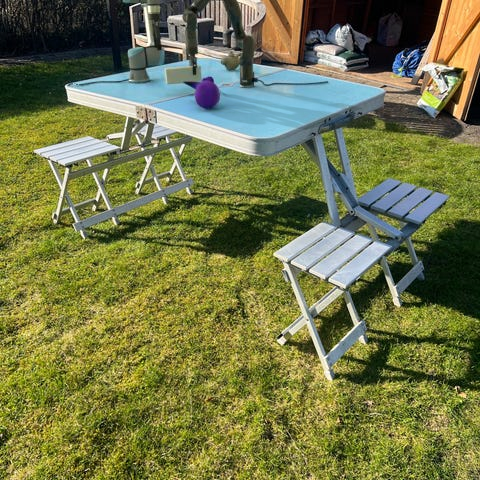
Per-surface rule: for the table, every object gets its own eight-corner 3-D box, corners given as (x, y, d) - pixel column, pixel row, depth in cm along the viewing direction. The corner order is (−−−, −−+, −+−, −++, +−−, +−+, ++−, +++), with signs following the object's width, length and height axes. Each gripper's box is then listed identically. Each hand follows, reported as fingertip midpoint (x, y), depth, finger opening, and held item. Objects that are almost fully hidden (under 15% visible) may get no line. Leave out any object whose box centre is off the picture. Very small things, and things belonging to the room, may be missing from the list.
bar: (167, 84, 289) (165, 69, 284) (166, 83, 293) (164, 68, 289) (201, 81, 294) (200, 66, 290) (199, 80, 299) (198, 65, 294)
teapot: (224, 72, 363) (223, 52, 355) (217, 70, 371) (216, 51, 364) (246, 69, 372) (246, 50, 364) (239, 67, 380) (239, 48, 373)
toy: (207, 99, 283) (220, 114, 262) (180, 94, 275) (191, 110, 255) (213, 74, 275) (226, 87, 254) (185, 68, 267) (197, 82, 247)
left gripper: (163, 13, 276) (166, 51, 286) (157, 11, 297) (160, 46, 307) (150, 14, 274) (154, 51, 285) (145, 12, 295) (149, 47, 305)
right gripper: (200, 47, 280) (201, 75, 288) (195, 44, 291) (196, 71, 300) (188, 47, 278) (190, 76, 286) (183, 45, 290) (185, 72, 298)
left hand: (158, 49), depth 296 cm, fingers open, 13 cm apart
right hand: (193, 73), depth 293 cm, fingers closed on bar, 5 cm apart
